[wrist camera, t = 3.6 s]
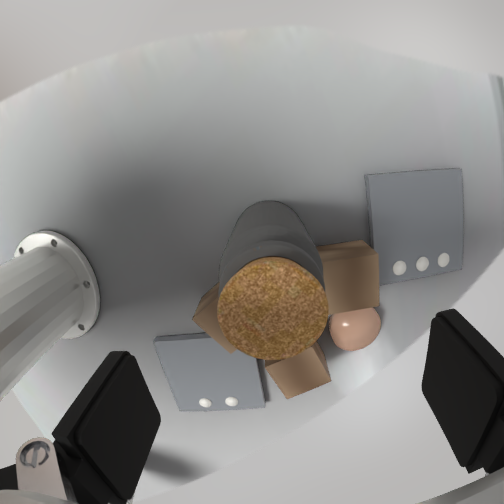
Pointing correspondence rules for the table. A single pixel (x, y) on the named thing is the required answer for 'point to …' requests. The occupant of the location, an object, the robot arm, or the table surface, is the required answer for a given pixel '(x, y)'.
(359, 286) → the block
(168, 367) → the pad two
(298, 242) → the bottle
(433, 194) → the pad three
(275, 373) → the block
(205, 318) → the block
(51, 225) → the table surface
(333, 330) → the peach glossy rounded part
